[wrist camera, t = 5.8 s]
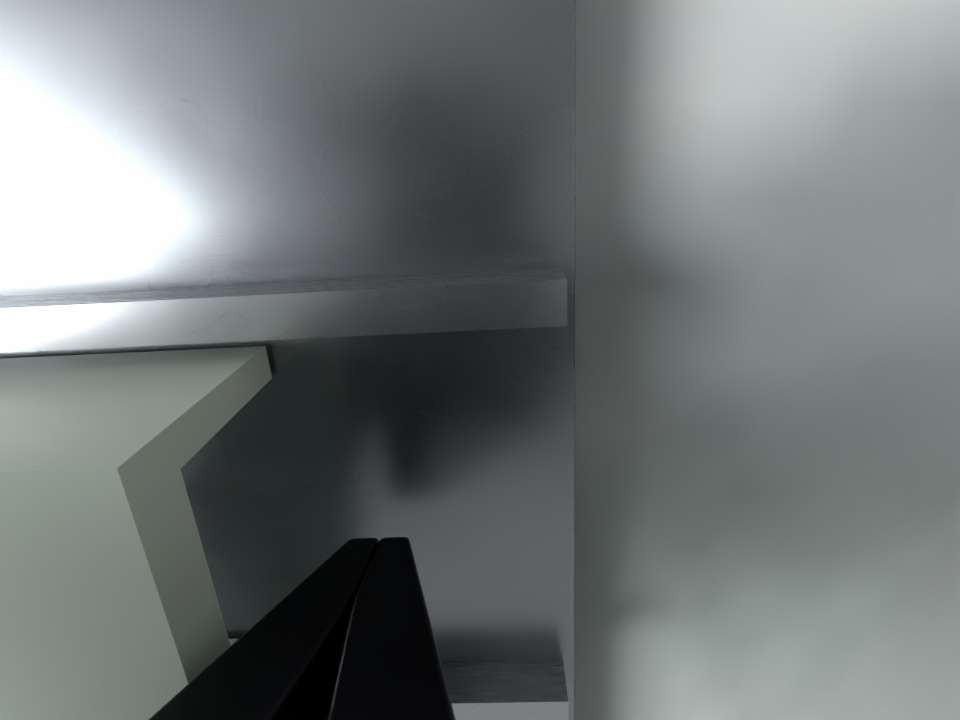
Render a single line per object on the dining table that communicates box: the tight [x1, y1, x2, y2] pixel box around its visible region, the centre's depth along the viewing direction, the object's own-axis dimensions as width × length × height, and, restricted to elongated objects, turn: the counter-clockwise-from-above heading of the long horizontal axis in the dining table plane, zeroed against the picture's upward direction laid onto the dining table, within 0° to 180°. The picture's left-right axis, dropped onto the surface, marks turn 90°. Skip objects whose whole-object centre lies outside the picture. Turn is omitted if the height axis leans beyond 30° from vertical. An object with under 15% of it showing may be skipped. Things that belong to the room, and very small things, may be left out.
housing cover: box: [0, 346, 272, 720], centre depth 7 cm, size 4×6×3 cm
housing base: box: [0, 0, 575, 720], centre depth 8 cm, size 15×16×5 cm
